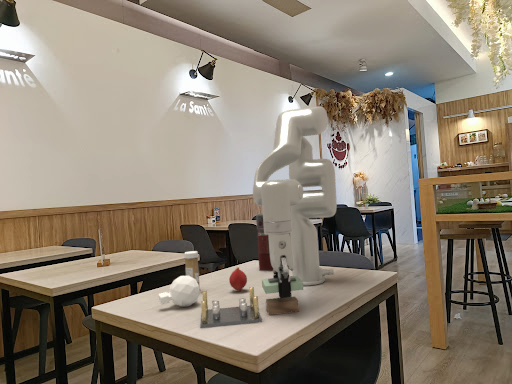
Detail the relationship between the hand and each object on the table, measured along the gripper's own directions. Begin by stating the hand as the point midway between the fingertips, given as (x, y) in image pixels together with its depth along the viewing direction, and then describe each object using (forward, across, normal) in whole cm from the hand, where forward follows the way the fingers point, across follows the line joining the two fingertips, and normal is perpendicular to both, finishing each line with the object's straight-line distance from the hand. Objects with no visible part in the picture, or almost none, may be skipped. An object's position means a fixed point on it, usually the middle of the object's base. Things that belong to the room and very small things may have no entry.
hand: (282, 292), depth 103 cm
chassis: (+4, -2, +15) cm, 15 cm away
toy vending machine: (+7, +56, -5) cm, 57 cm away
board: (-1, 0, 0) cm, 1 cm away
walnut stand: (+5, -1, +1) cm, 5 cm away
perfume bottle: (+5, +13, +29) cm, 32 cm away
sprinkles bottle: (+6, +29, +26) cm, 39 cm away
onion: (+6, +24, +11) cm, 27 cm away
